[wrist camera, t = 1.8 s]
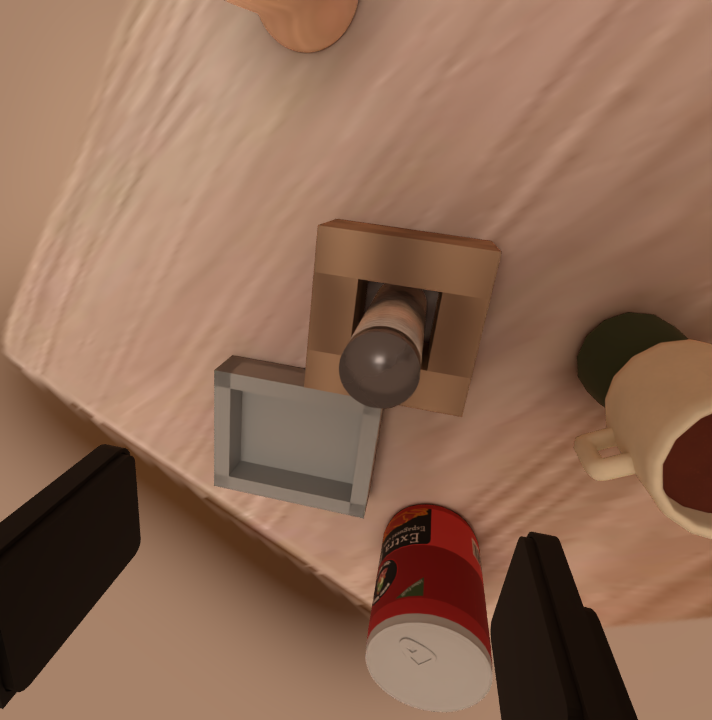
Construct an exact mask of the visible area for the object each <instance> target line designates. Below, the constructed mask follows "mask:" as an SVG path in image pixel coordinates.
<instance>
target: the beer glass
mask: <svg viewBox="0 0 712 720" xmlns="http://www.w3.org/2000/svg"><path fill="white" fill-rule="evenodd" d="M224 1H227V2H229V3H231V4H233V5H236V6H239V7H241V8H244V9H246V10H249V11H252V12H255V13H258V15H259V17H260V19H261V21H262V23H263V25H264V27H265V28H266V30H267V31H268V32H269V34H270V35H271V36H272V37H273V38H274V39H275V40H276V41H277V42H278V43H280V44H281V45H283V46H284V47H286V48H288V49H290V50H293V51H297V52H304V53H309V52H316V51H320V50H322V49H325V48H327V47H329V46H330V45H332V44H333V43H335V42H336V41H337V40H338V39H339V38H340V37H341V36H342V35H343V34H344V32H345V31H346V30H347V28H348V27H349V25H350V23H351V21H352V19H353V17H354V14H355V12H356V8H357V5H358V0H224Z"/></svg>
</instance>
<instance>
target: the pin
mask: <svg viewBox="0 0 712 720" xmlns="http://www.w3.org/2000/svg"><path fill="white" fill-rule="evenodd" d="M426 310H427V300H426V296H425V294H424V292H423V290H422V289H419V288H413V287H406V286H400V285H394V284H387V283H385V284H384V285H382V286H381V288H380V289H379V290H378V292H377V293H376V295H375V297H374V299H373V300H372V302H371V304H370V306H369V307H368V309H367V311H366V313H365V314H364V316H363V318H362V320H361V321H360V323H359V325H358V327H357V328H356V330H355V332H354V334H353V335H352V337H351V339H350V341H349V342H348V344H347V346H346V347H345V349H344V351H343V353H342V355H341V358H340V362H339V376H340V380H341V382H342V385H343V387H344V388H345V390H346V391H347V392H348V394H349V395H350V396H351V397H352V398H354V399H355V400H356V401H358V402H359V403H361V404H363V405H366V406H368V407H372V408H390V407H394V406H397V405H399V404H401V403H403V402H405V401H406V400H407V399H408V398H410V397H411V395H412V394H413V393H414V391H415V390H416V388H417V386H418V383H419V380H420V371H421V361H422V351H423V341H424V330H425V320H426Z"/></svg>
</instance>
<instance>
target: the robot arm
mask: <svg viewBox="0 0 712 720" xmlns="http://www.w3.org/2000/svg"><path fill="white" fill-rule="evenodd" d="M140 540H141V538H140V524H139V511H138V497H137V482H136V469H135V459H134V457H133V456H130V452H129V451H128V450H127V449H126V448H121V447H116V446H111V445H106V444H104V445H100V446H98V447H97V448H96V449H94V450H93V451H92V452H91V453H89V454H88V455H87V456H86V457H84V458H83V459H82V460H80V461H79V462H78V463H76V464H75V465H74V466H73V467H71V468H70V469H69V470H68V471H66V472H65V473H64V474H62V475H61V476H60V477H58V478H57V479H56V480H55V481H53V482H52V483H51V484H50V485H48V486H47V487H45V488H44V489H43V490H42V491H40V492H39V493H38V494H36V495H35V496H34V497H32V498H31V499H30V500H29V501H27V502H26V503H25V504H23V505H22V506H21V507H20V508H18V509H17V510H16V511H15V512H13V513H12V514H11V515H10V516H8V517H7V518H6V519H4V520H3V521H2V522H0V708H2V709H3V708H4V707H5V706H6V704H7V703H8V702H9V701H10V700H11V698H12V697H13V696H14V695H15V694H16V692H21V691H23V690H25V689H26V688H27V687H28V686H29V685H30V684H31V683H32V682H33V680H34V679H35V678H36V677H37V675H38V674H39V673H40V672H41V671H42V669H43V668H44V667H45V666H46V664H47V663H48V662H49V660H50V659H51V658H52V657H53V656H54V654H55V653H56V652H57V651H58V650H59V648H60V647H61V646H62V645H63V643H64V642H65V641H66V640H67V638H68V637H69V636H70V635H71V634H72V632H73V631H74V630H75V629H76V627H77V626H78V625H79V624H80V622H81V621H82V620H83V619H84V617H85V616H86V615H87V614H88V612H89V611H90V610H91V609H92V607H93V606H94V605H95V604H96V603H97V601H98V600H99V599H100V598H101V596H102V595H103V594H104V593H105V592H106V590H107V589H108V588H109V587H110V585H111V584H112V583H113V581H114V580H115V579H116V578H117V577H118V575H119V574H120V573H121V572H122V571H123V569H124V568H125V567H126V566H127V564H128V563H129V562H130V561H131V559H132V558H133V557H134V556H135V554H136V552H137V551H138V548H139V546H140ZM491 643H492V650H493V658H494V666H495V673H496V681H497V689H498V696H499V704H500V712H501V719H502V720H638V719H637V716H636V713H635V711H634V708H633V706H632V703H631V701H630V698H629V695H628V693H627V690H626V688H625V685H624V682H623V680H622V677H621V675H620V672H619V669H618V667H617V664H616V662H615V659H614V657H613V654H612V651H611V649H610V646H609V644H608V641H607V638H606V636H605V633H604V631H603V628H602V626H601V623H600V620H599V618H598V616H597V614H596V613H595V612H594V611H593V610H592V609H591V608H587V607H583V604H582V601H581V598H580V596H579V593H578V590H577V587H576V584H575V582H574V579H573V576H572V573H571V571H570V568H569V565H568V562H567V560H566V557H565V554H564V551H563V549H562V546H561V543H560V541H559V539H558V538H557V537H555V536H551V535H546V534H541V533H536V532H530V533H529V534H528V536H527V537H522V536H521V537H520V538H519V540H518V542H517V545H516V548H515V551H514V554H513V557H512V560H511V563H510V566H509V569H508V572H507V575H506V578H505V581H504V584H503V587H502V590H501V593H500V596H499V599H498V602H497V605H496V608H495V612H494V615H493V618H492V621H491Z"/></svg>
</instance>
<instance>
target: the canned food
mask: <svg viewBox="0 0 712 720" xmlns="http://www.w3.org/2000/svg"><path fill="white" fill-rule="evenodd" d="M491 658H492V657H491V645H490V637H489V628H488V620H487V611H486V603H485V594H484V586H483V577H482V569H481V560H480V552H479V546H478V542H477V539H476V537H475V535H474V533H473V532H472V530H471V528H470V527H469V525H468V524H467V523H466V521H465V520H463V519H462V518H461V517H460V516H459V515H457V514H456V513H454V512H453V511H451V510H448V509H446V508H443V507H440V506H436V505H427V504H423V505H415V506H411V507H407V508H405V509H403V510H401V511H400V512H399V513H397V514H396V515H395V516H394V517H393V518H392V520H391V521H390V523H389V524H388V526H387V528H386V530H385V532H384V537H383V543H382V549H381V555H380V561H379V567H378V573H377V579H376V586H375V592H374V598H373V604H372V610H371V616H370V622H369V628H368V637H367V643H366V665H367V668H368V670H369V673H370V675H371V676H372V678H373V679H374V681H375V682H376V683H377V684H378V685H379V687H380V688H381V689H383V690H384V691H385V692H386V693H387V694H389V695H390V696H391V697H393V698H395V699H397V700H398V701H400V702H402V703H404V704H407V705H409V706H411V707H415V708H419V709H422V710H427V711H433V712H452V711H459V710H463V709H466V708H469V707H471V706H473V705H475V704H477V703H478V702H479V701H480V700H482V699H483V698H484V697H485V696H486V694H487V693H488V692H489V690H490V687H491V684H492V659H491Z"/></svg>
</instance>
